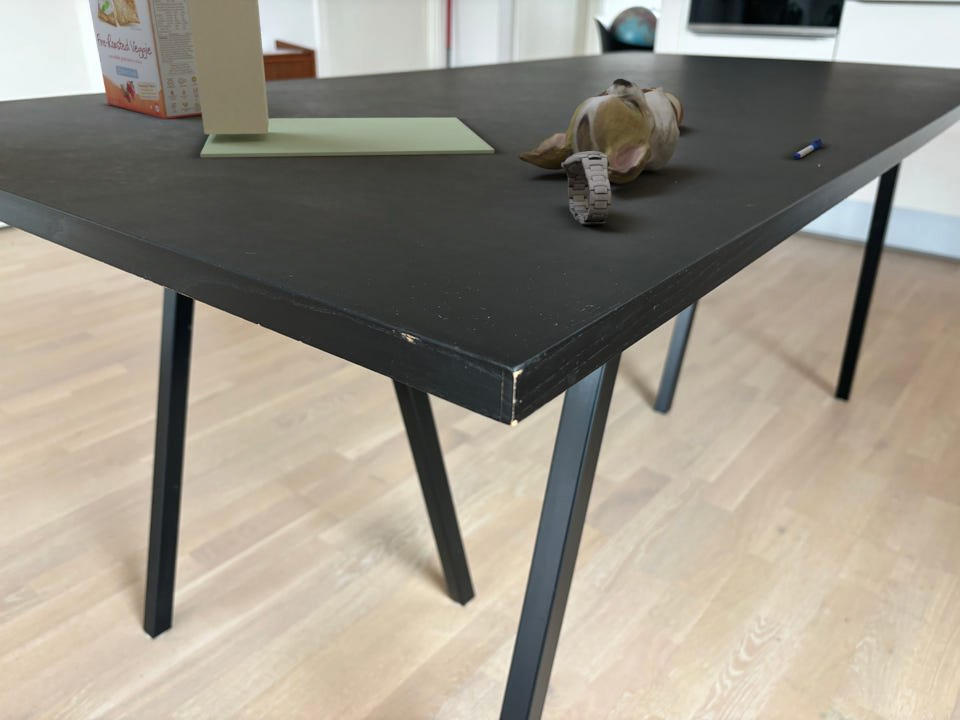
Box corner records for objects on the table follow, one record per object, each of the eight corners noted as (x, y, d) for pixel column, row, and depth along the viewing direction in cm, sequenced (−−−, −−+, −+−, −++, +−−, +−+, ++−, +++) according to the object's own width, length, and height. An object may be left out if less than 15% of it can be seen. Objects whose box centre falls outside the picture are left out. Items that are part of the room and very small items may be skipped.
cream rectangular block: (204, 134, 75) (177, -78, 67) (209, 124, 80) (185, -74, 72) (267, 133, 76) (249, -75, 68) (269, 123, 81) (251, -71, 74)
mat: (200, 159, 71) (200, 153, 71) (217, 122, 89) (217, 118, 88) (494, 154, 77) (494, 149, 77) (456, 121, 94) (456, 117, 94)
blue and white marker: (813, 145, 87) (815, 136, 86) (821, 147, 87) (824, 137, 86) (791, 160, 79) (794, 150, 79) (800, 161, 79) (803, 152, 78)
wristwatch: (596, 209, 59) (602, 143, 57) (620, 233, 54) (628, 161, 52) (551, 209, 59) (556, 143, 57) (571, 233, 53) (578, 161, 51)
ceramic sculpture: (718, 74, 67) (621, 98, 57) (705, 173, 71) (613, 211, 61) (615, 64, 73) (512, 84, 64) (609, 156, 77) (512, 188, 68)
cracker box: (104, 106, 97) (69, -85, 88) (149, 102, 101) (121, -81, 92) (162, 121, 89) (131, -89, 79) (209, 115, 93) (184, -84, 84)
